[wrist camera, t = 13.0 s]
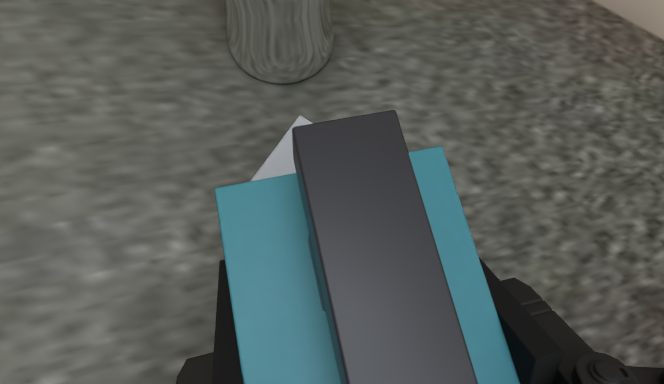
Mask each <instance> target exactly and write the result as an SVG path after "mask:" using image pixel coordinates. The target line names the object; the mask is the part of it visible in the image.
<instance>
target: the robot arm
mask: <svg viewBox="0 0 664 384" xmlns="http://www.w3.org/2000/svg"><path fill="white" fill-rule="evenodd" d="M479 260H480V263H481V266H482V269H483V272H484V275H485V278H486V281H487V284H488V287H489V290H490V293H491V296H492V299H493V302H494V305H495V308H496V311H497V314H498V317H499V321H500V324H501V327H502V330H503V333H504V336H505V339H506V342H507V345H508V348H509V351H510V354H511V357H512V360H513V363H514V366H515V369H516V372H517V375H518V378H519V381H520V384H664V368H650V367H632V366H626V365H624V364H623V363H621V362H620V361H619V360H617V359H615V358H613V357H611V356H609V355H607V354H603V353H598V352H595V351H593V350H592V349H591V348H590V347H589V346H588V345H587V344H586V343H585V342H584V341H583V340H582V339H581V338H580V337H579V336H578V335H577V334H576V333H575V332H574V331H573V330H572V329H571V328H570V327H569V326H568V325H567V324H566V323H565V322H564V321H563V320H562V319H561V318H560V317H559V316H558V314H557V313H556V312H555V311H552V308H551V307H550V306H549V305H548V304H547V303H546V302H545V301H542V298H541V297H540V296H539V295H538V294H537V293H536V292H535V291H534V290H533V289H532V288H531V287H530V286H528V285H526V284H525V283H523V282H521V281H519V280H518V279H516V278H511V279H507V280H503V281H500V280H499V279H498V278H497V277H496V276H495V275H494V274H493V272H492V271H491V270H490V269H489V268H488V267H487V266H486V265H485V264H484V262H483V261H482V260H481V259H480V258H479ZM176 384H244V383H243V376H242V371H241V365H240V358H239V351H238V345H237V338H236V331H235V324H234V318H233V311H232V304H231V297H230V291H229V284H228V277H227V271H226V264H225V260H221V261H220V266H219V281H218V297H217V312H216V327H215V343H214V353H209V354H205V355H201V356H197V357H193V358H189V359H187V360H186V362H185V364H184V365H183V367H182V369H181V371H180V373H179V374H178V376H177V382H176Z"/></svg>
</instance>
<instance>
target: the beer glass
mask: <svg viewBox="0 0 664 384" xmlns="http://www.w3.org/2000/svg"><path fill="white" fill-rule="evenodd" d="M225 5H226V32H227V41H228V46H229V49H230V52H231V54H232V56H233V58H234V59H235V61H236V62H237V64H238V65H239V66H240V67H241V68H242V69H243V70H244V71H246V72H247V73H248V74H250V75H251V76H253V77H255V78H257V79H260V80H262V81H266V82H270V83H277V84H287V83H294V82H298V81H302V80H304V79H307V78H309V77H311V76H312V75H314V74H315V73H317V72H318V71H319V70H320V69H321V68H322V67H323V66H324V65H325V64H326V62H327V61H328V59H329V57H330V55H331V53H332V50H333V46H334V27H333V20H332V12H331V0H225Z"/></svg>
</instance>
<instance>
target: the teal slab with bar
mask: <svg viewBox="0 0 664 384" xmlns="http://www.w3.org/2000/svg"><path fill="white" fill-rule="evenodd" d="M215 196H216V203H217V210H218V217H219V223H220V230H221V237H222V244H223V250H224V257H225V264H226V271H227V277H228V284H229V291H230V297H231V304H232V311H233V318H234V324H235V331H236V338H237V345H238V351H239V358H240V365H241V371H242V376H243V383H244V384H520V381H519V378H518V375H517V372H516V369H515V366H514V363H513V360H512V357H511V354H510V351H509V348H508V345H507V342H506V339H505V336H504V333H503V330H502V327H501V324H500V321H499V317H498V314H497V311H496V308H495V305H494V302H493V299H492V296H491V293H490V290H489V287H488V284H487V281H486V278H485V275H484V272H483V269H482V266H481V263H480V260H479V257H478V254H477V251H476V248H475V245H474V242H473V239H472V236H471V233H470V230H469V227H468V223H467V220H466V217H465V214H464V211H463V208H462V205H461V202H460V199H459V196H458V193H457V190H456V187H455V184H454V181H453V178H452V175H451V172H450V169H449V166H448V163H447V160H446V157H445V154H444V151H443V148H442V146H439V147H433V148H428V149H423V150H417V151H412V152H408V150H407V147H406V143H405V140H404V137H403V133H402V130H401V127H400V123H399V120H398V117H397V113H396V111H395V110H391V111H385V112H379V113H373V114H367V115H361V116H355V117H349V118H343V119H337V120H331V121H325V122H319V123H312V122H310V121H308V120H307V119H305V118H303V117H302V116H299V117H298V118H297V120H296V121H295V122H294V124H293V125H292V126H291V128H290V129H289V130H288V132H287V133H286V134H285V136H284V137H283V138H282V140H281V141H280V142H279V144H278V145H277V146H276V148H275V149H274V150H273V152H272V153H271V154H270V156H269V157H268V158H267V160H266V161H265V162H264V164H263V165H262V166H261V168H260V169H259V170H258V172H257V173H256V174H255V176H254V177H253V178H252V180H251V181H250V182H245V183H239V184H234V185H228V186H223V187H218V188H215Z"/></svg>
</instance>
